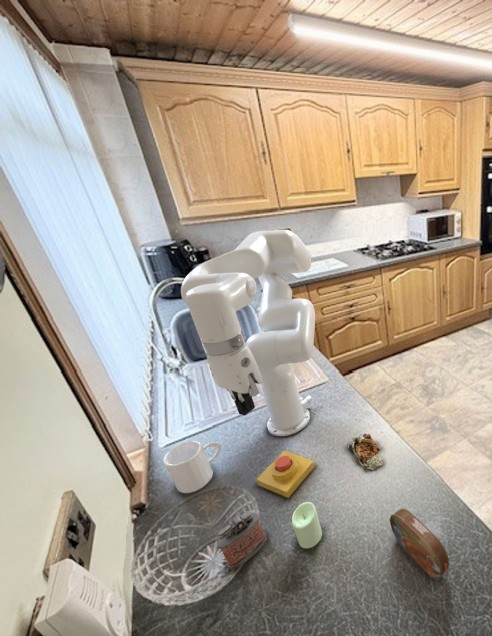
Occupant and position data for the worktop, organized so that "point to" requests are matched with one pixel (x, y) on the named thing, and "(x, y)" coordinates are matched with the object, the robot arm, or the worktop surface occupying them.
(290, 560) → the worktop surface
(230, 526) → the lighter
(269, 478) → the button box
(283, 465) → the red push button
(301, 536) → the candle
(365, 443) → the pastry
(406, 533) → the tin
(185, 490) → the mug
